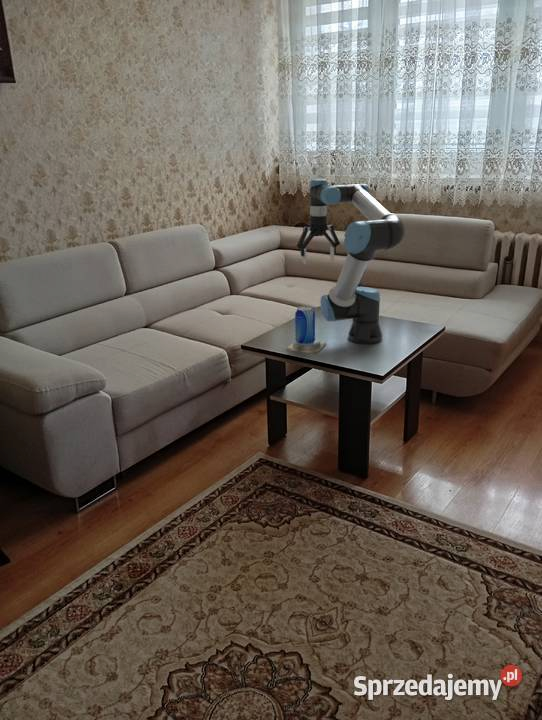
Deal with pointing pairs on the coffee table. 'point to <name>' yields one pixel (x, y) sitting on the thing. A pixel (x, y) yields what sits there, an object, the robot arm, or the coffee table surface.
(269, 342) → the coffee table surface
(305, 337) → the beer can
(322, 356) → the coffee table surface
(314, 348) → the hub board
